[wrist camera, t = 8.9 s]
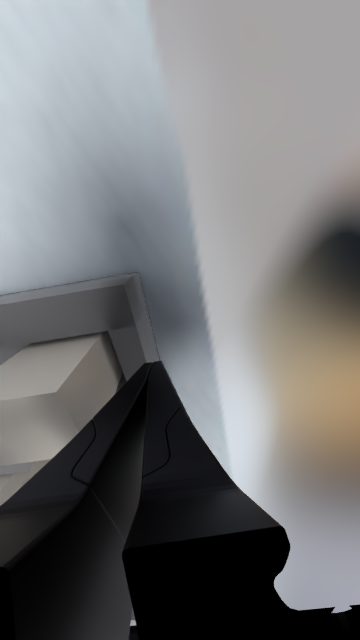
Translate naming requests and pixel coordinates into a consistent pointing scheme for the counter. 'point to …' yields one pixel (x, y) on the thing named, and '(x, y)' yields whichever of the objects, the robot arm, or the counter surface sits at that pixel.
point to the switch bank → (80, 323)
